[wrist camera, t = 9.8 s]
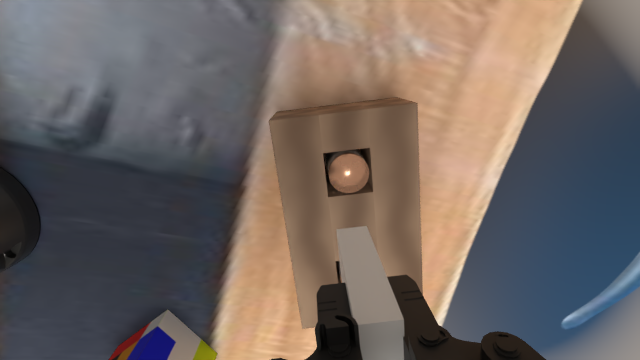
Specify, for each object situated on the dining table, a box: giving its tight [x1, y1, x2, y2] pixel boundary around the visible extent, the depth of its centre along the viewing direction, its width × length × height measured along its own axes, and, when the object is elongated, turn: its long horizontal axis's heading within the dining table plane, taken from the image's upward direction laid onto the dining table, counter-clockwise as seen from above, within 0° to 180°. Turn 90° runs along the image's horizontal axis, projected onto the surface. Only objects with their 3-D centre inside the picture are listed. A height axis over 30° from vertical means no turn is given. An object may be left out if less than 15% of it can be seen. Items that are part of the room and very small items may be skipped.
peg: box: [325, 149, 369, 193], centre depth 36 cm, size 4×4×8 cm
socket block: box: [269, 97, 423, 329], centre depth 39 cm, size 14×24×8 cm, turn 7°
